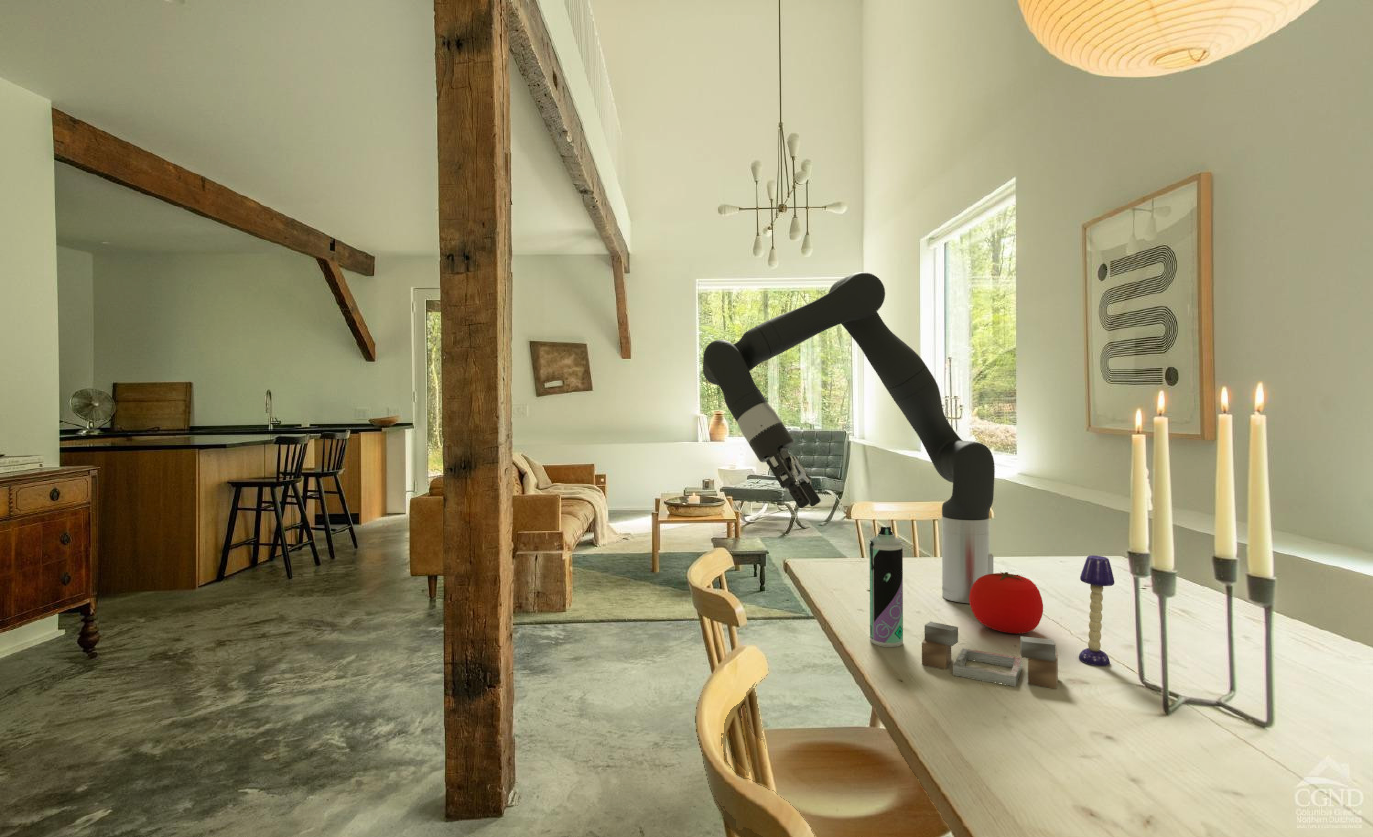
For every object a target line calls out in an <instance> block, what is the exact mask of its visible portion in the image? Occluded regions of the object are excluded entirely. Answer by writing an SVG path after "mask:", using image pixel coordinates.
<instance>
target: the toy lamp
mask: <svg viewBox="0 0 1373 837" xmlns="http://www.w3.org/2000/svg"><path fill="white" fill-rule="evenodd" d="M1079 579H1080V581H1081V582H1082V583H1085V584H1087V585H1090V587H1089V588H1090V590H1091V592H1090V593H1089V598H1090V602H1089V609H1090V611H1089V615H1088V618H1089V622H1088V627H1089V631H1088V635H1087V636H1088V638H1089V639H1088V642H1087V647H1086V648H1083V649H1082V651H1081V652H1080V653H1079V656H1078V660H1079V661H1081V662H1083V663H1085V664H1087V665H1092V666H1098V667H1105V666H1106V665H1107V666H1109V665H1110V663H1111V662H1110V658H1109V656H1108V654H1107V653H1106V652H1105V651H1103V650H1101V648H1102V647H1101V642H1100V641H1101V640H1102V633H1101V631H1102V627H1103V625H1102V620H1103V614H1102V612H1103V604H1102V602H1103V600H1104V595H1103V591H1104V587H1111V586H1114V584H1115V577H1114V574H1113V569H1112V566H1111V562H1110V559H1109V558H1108V557H1106V556H1102V555H1095V554H1093V555H1092V554H1091V555H1088V556H1087V557H1086V559H1085V562H1084V564H1083V567H1082V571H1081V573H1080V577H1079Z"/></svg>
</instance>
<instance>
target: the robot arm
mask: <svg viewBox="0 0 1373 837" xmlns="http://www.w3.org/2000/svg"><path fill="white" fill-rule="evenodd" d="M885 297H886V289H885V285H884V284H883V282H882V280H881V279H880V278H879V277H877V276H876V275H874V274H873V273H869V272H866V271H865V272H864V271H863V272H862V271H861V272H854V273H853V274H852V273H851V274H849V275H847V276H845V277H843V278H840V279H838V280H837V281H835V282H834V283H833V284H832V286H830V289H829V291H828V293H826V294H824V295H823V296H821V297H819V298H817V299H816V300H813V301H810V302H809V303H807V304H804V305H802V306H800V307H798V308H795V309H793V310H790V311H787V312H785V313H783V314H780V315H777V316H775V317H773V318H770V319H768V320H766V321H764V322H762V323H760V324H758V325H757V326H754V327H752V328H750V329H748V330H746V331H745V332H744V334H743V335H742V336H741V338H740V339H739V340H738V341H737V342H735V343H731V341H728V340H724V339H716V340H712V341H711V342H710V343H709V344H708V345H706V347H705V349H704V351H703V357H702V361H703V362H702V373H703V376H704V377H705V380H707V381H708V382H709V383H710V384H711V385H715V386H719V388H720V390H721V392H722V394H723V398H724V402H725V405H726V407H727V409H728V411H729V412H730V414H731V415H732V417H733V418H734V420H735V422H736V423H737V425H738V427H739V429H740V431H741V434H742V435H743V437H744V439H745V440H746V442H747V443H748V445H749V447H750V448H751V449H752V451H753V453H754V454H755V456H756V458H757V459H758V461H759V462H760V463H766V464H767V466H768V467H769V469H770V471H771V472H772V475H773V476H774V478H775V479H776V480H777V482H778V484H779V485H780V487H781V489H785V491H787V492H788V493H789V494H790V496H791V497H792V499H793V501H794V502H795V503H796V505H797V507H798V508H799V509H804V508H805V507H808V505H809V506H810V507H815V506H817V505H818V504H819V503H821V502H822V499H821V498H820V496H819V494H818V493H817V491H816V490H815V488H814V487H813V485H812V481H813V480H812V477H811V476H810V475H809V473H808V472H807V470H806V469H805V467H804V466H803V465H802V463H801V461H800V460H799V458H798V456H796V455H793V456H792V455H791V454H790V452H789V451H788V450H789V449H790V448H792V446H793V445H794V443H795V440H794V439H793V437H792V436H791V435H792V434H790V432H789V430H788V429H787V427H786V426H785V424H784V423H783V421H782V420H781V419H780V417H779V415H778V414H777V413H776V410H774V409H773V408H772V406H771V405H770V404H769V402H768V401H767V399H766V398H765V396H764V394H763V393H762V392H761V390H760V388H759V387H758V386H757V385H756V383H755V381H754V378H753V377H752V375H751V372H750V371H752V370H753V369H754V368H756V367H757V366H759V365H760V364H762V363H763V362H766V361H768V360H770V359H772V358H774V357H776V356H779V355H781V354H783V353H784V352H786V351H788V350H791V349H792V348H794V347H796V346H798V345H800V344H802V343H803V342H805V341H807V340H809V339H811V338H812V337H815V336H817V335H819V334H820V333H823V332H825V331H827V330H829V329H831V328H833V327H834V328H835V327H836V326H838V325H842V327H843V328H844V329H845V330H846V331H847V333H848V334H849V335H850V337H851V338H852V339H853V340H854V341H855V342H856V344H857V345H858V347H859V348H860V349H861V351H862V353H863V354H864V356H865V358H866V360H868V362H869V364H870V365H871V367H872V368H873V370H874V371H875V373H876V375H877V377H878V378H879V379H880V381H881V382H882V384H883V386H884V388H885V389H886V390H887V392H888V393H889V395H890V396H891V398H892V399H893V401H894V403H895V404H896V405H897V407H898V408H899V409H900V411H901V412H902V414H903V415H904V417H905V418H906V421H908V423H909V425H910V426H911V427H912V429H913V430H914V432H915V433H916V435H917V436H918V438H919V439H920V442H921V443H922V445H923V447H924V449H925V451H926V454H928V458H930V461H931V463H932V465H933V467H934V468H935V470H936V471H937V473H938V475H940V477H941V478H943V479H944V480H946V481H947V482H949V483H951V484H952V495H951V496H950V498H949V499H948V500H946V501H944V502H943V503H942V505H941V532H942V533H941V539H942V540H941V545H942V546H941V547H942V548H941V551H942V552H941V554H942V555H941V567H942V568H941V571H942V572H941V575H942V576H941V581H942V583H941V584H942V585H941V586H942V587H941V590H942V594H941V595H942V597H943V598H944V599H945V600H948V601H951V602H956V603H960V604H970V601H969V595H970V590H971V588H972V586H973V584H974V582H975V581H976V580H977V579H978V578H980V577H982V576H984V575H987V574H994V555H993V553H990V509H991V508H992V506H993V502H994V494H995V474H996V473H995V472H996V471H995V468H996V467H995V460H994V456H993V453H992V452H991V450H990V448H989V447H988V446H987V445H985V444H984V443H981V442H979V441H972V440H971V441H969V440H963V439H962V438H961V437H960V436H959V435H958V434H957V432H956V431H955V430H954V428H953V426H952V425H951V424H950V423H949V421H948V419H947V417H946V414H945V413H944V408H943V403H942V397H941V391H940V388H939V386H938V382H937V381H936V379H935V377H934V376H933V374H932V372H931V371H930V369H929V367H928V366H927V364H926V363H925V362H924V360H923V359H922V358H921V356H920V355H919V354H918V353H917V352H916V351H915V350H913V349H912V347H910V346H909V345H908V344H907V343H906V342H905V341H903V340H901V338H900V337H898V336H897V335H896V334H895V333H894V332H893V331H891V330H890V328H889V327H888V326H887V325H886V324H885V322H884V320H883V318H882V317H881V316H880V314H879V313H878V311H879V310H880V309H881V308H882V306H883V304H884V303H885V302H884V301H885Z"/></svg>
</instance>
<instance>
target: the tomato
mask: <svg viewBox="0 0 1373 837" xmlns="http://www.w3.org/2000/svg"><path fill="white" fill-rule="evenodd" d="M969 601H970V603H969V605H970V609H971V611H972V614H973V615H974V617H975V619H977V621H979V623H980V624H982V625H984V627H987V628H989V629H992V630H994V631H998V632H1002V633H1008V634H1027V633H1029V632H1032V631H1034V630H1035V629H1036V628H1037V627H1038V626H1039V624H1040V623H1041V620H1042V618H1043V615H1044V614H1043V613H1044V603H1043V598H1042V595H1041V593H1040V590H1039V588H1038V587H1037V585H1036V584H1035V583H1034V582H1033V581H1032V580H1031V579H1029V578H1027V577H1024V576H1023V575H1019V574H1014V573H1009V572H1002V571H1000V572H998V573H997V572H995V573H994V572H993V574H987V575H984V576H982V577H980V578H978V579H977V580H976V581H975V582H974V584H973V586H972V588H971V590H970V595H969Z"/></svg>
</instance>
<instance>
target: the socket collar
mask: <svg viewBox="0 0 1373 837" xmlns="http://www.w3.org/2000/svg"><path fill="white" fill-rule="evenodd" d="M970 660H975V661H974V662H976V661H980V662H979V663H982V662H986V663H985V664H988V663H991V664H990V665H994V664H996V665H995V666H999V665H1000V666H1001V667H1007V668H1011V671H1010V673H1009V672H1004V671H1003V672H1002V671H997V670H992V669H985V668H980V667H975V666H968V665H966V664H967V662H968V661H970ZM966 661H967V662H966ZM965 663H966V664H965ZM1022 669H1023V658H1022V657H1018V656H1012V655H1007V654H1006V655H1005V654H1000V653H993V652H987V651H982V650H975V649H971V648H965V647H964V648H963V647H962V649H961V651H960V653H959V654H958V656H957V657H956V659H955V661H954V663H953V665H952V676H953V675H956V676H955V677H959V676H962V677H961V678H964V677H969V678H968V679H970V678H973V679H972V680H975V679H976V680H977V681H981V680H982V681H983V682H987V683H991V682H996V683H995V684H997V683H1002V684H1006V685H1005V686H1008V685H1010V686H1009V687H1013V686H1014V687H1013V688H1016V687H1017V685H1018V681H1019V678H1020V675H1021V672H1022ZM976 680H975V681H976ZM982 681H981V682H982ZM1002 684H1001V685H1002ZM1016 684H1017V685H1016Z"/></svg>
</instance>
